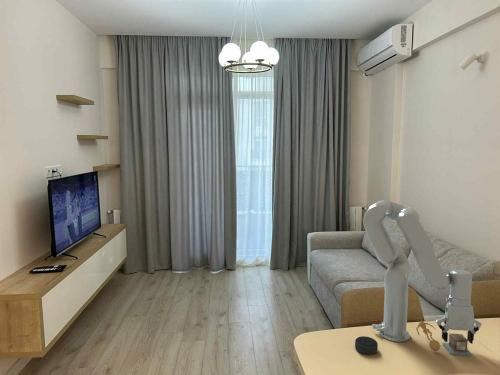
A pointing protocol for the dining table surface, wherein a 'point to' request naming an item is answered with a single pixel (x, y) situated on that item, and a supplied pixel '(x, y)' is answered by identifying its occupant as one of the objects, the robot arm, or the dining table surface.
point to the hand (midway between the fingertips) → (457, 341)
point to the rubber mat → (456, 351)
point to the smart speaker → (366, 345)
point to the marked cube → (458, 342)
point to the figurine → (433, 343)
